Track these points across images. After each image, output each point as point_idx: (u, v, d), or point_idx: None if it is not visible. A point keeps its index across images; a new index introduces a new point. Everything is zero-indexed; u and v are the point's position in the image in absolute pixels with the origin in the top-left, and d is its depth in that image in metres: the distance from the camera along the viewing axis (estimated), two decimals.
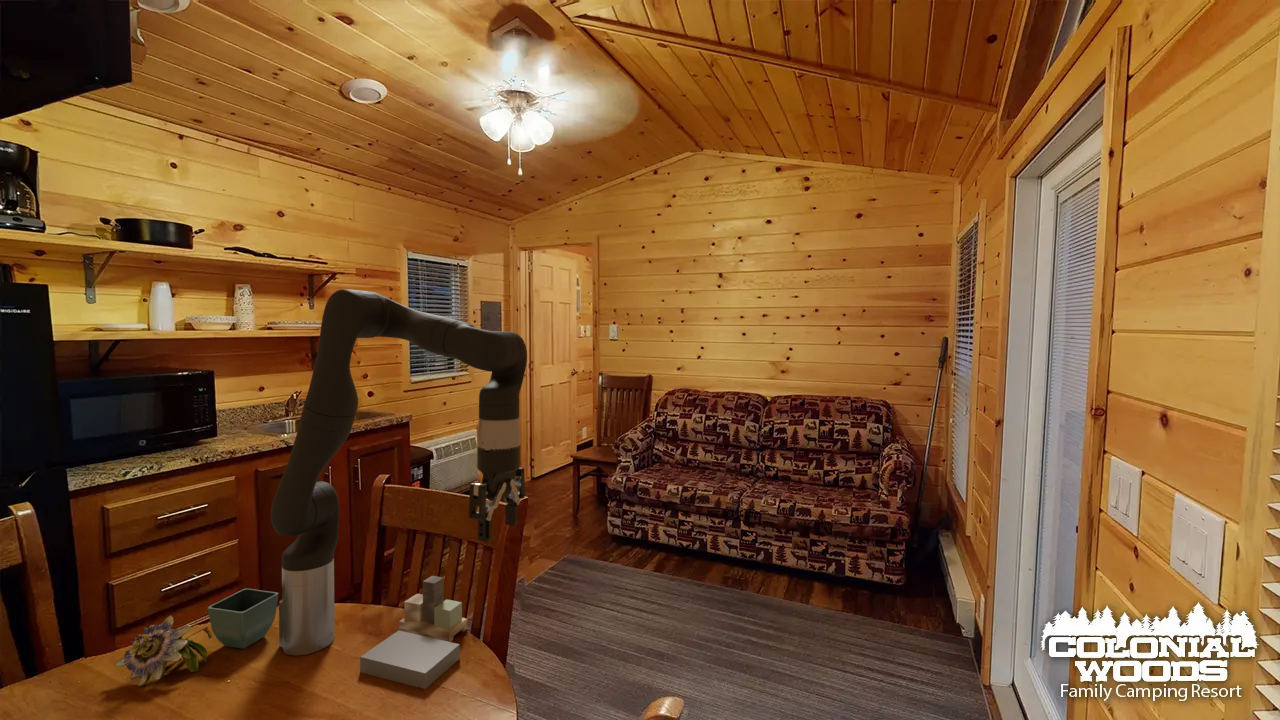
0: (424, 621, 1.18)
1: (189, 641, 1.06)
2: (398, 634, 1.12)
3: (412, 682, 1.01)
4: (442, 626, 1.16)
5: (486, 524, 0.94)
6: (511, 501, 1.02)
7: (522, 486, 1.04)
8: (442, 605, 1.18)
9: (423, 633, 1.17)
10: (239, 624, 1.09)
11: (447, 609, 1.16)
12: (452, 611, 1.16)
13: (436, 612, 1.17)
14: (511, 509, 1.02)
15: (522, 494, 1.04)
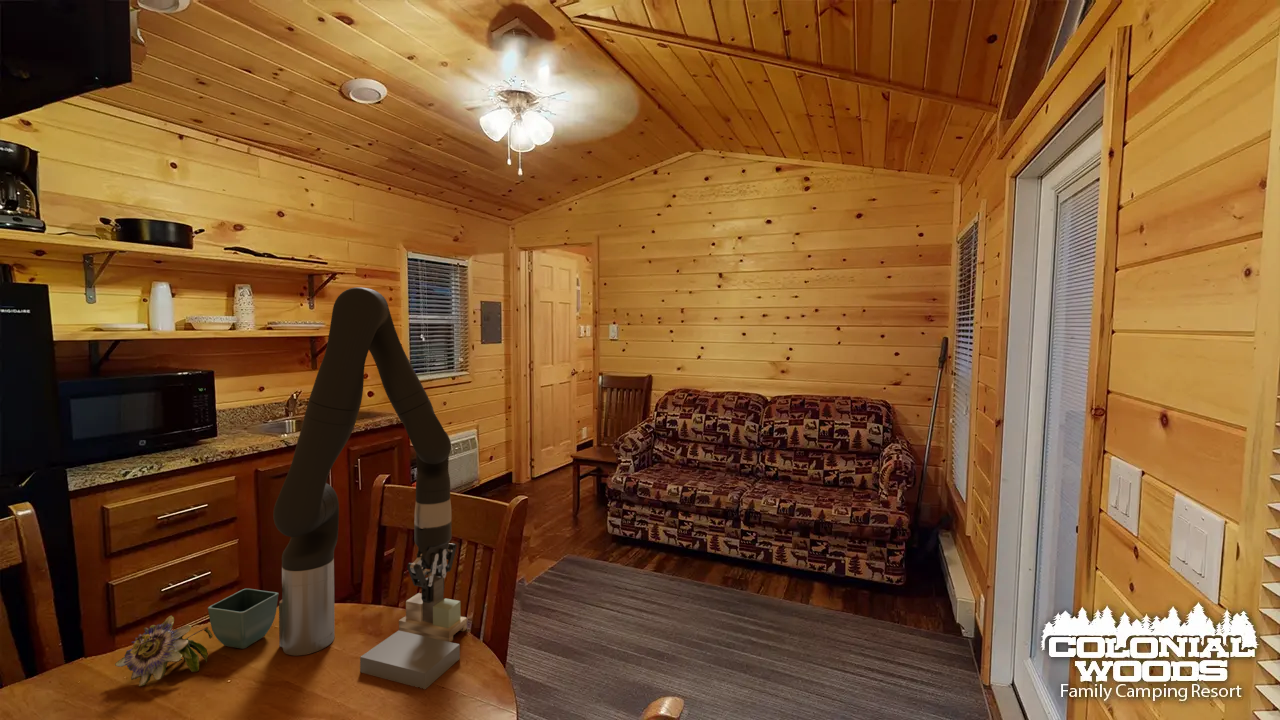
0: (424, 620, 1.19)
1: (190, 641, 1.06)
2: (398, 634, 1.12)
3: (412, 682, 1.01)
4: (441, 625, 1.17)
5: (428, 589, 1.17)
6: (438, 575, 1.21)
7: (451, 560, 1.23)
8: (441, 604, 1.18)
9: (423, 632, 1.17)
10: (239, 624, 1.09)
11: (446, 608, 1.16)
12: (451, 610, 1.17)
13: (435, 611, 1.17)
14: None
15: (449, 567, 1.22)
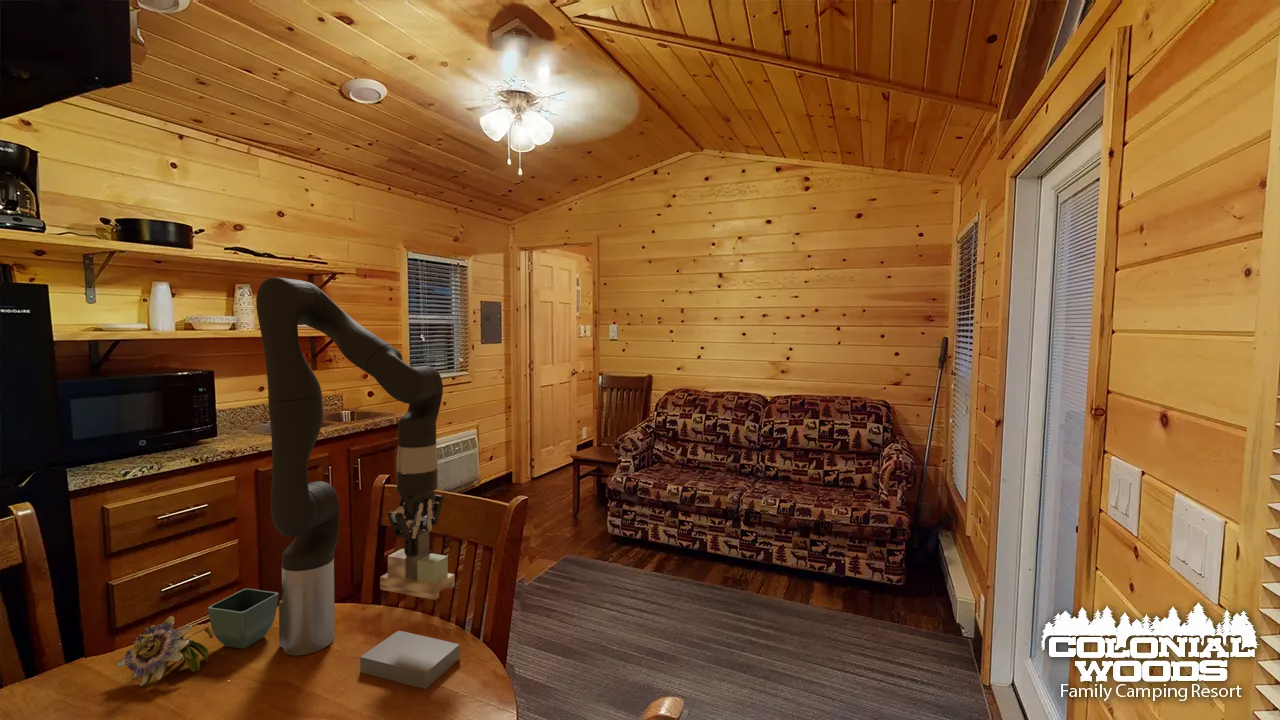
0: (408, 576, 1.08)
1: (190, 641, 1.06)
2: (398, 634, 1.12)
3: (412, 682, 1.01)
4: (426, 581, 1.06)
5: (412, 542, 1.07)
6: (423, 528, 1.11)
7: (437, 512, 1.13)
8: (426, 559, 1.08)
9: (406, 589, 1.07)
10: (239, 624, 1.09)
11: (431, 562, 1.06)
12: (437, 564, 1.07)
13: (419, 566, 1.07)
14: None
15: (435, 520, 1.12)
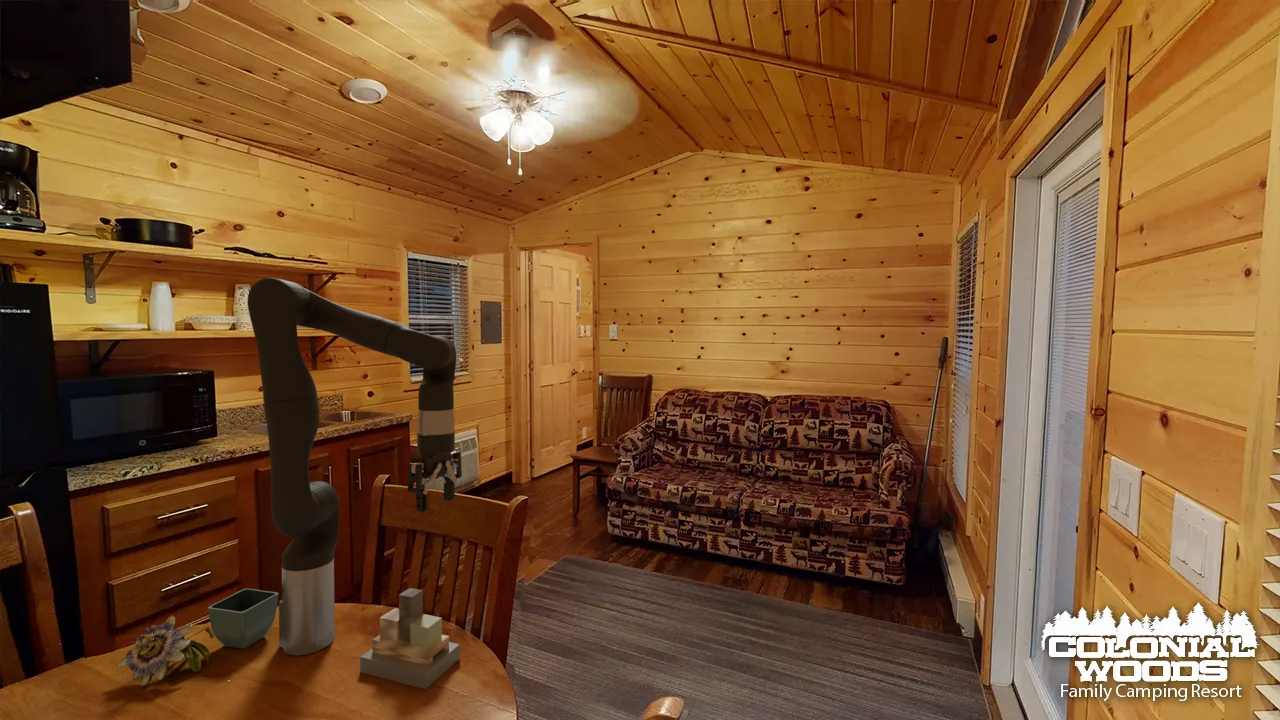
0: (401, 639, 1.06)
1: (191, 641, 1.06)
2: None
3: (412, 682, 1.01)
4: (419, 645, 1.04)
5: (423, 497, 1.12)
6: (448, 480, 1.21)
7: (459, 467, 1.22)
8: (419, 621, 1.05)
9: (399, 653, 1.04)
10: (239, 624, 1.09)
11: (425, 626, 1.04)
12: (430, 628, 1.04)
13: (412, 629, 1.04)
14: (448, 486, 1.21)
15: (459, 474, 1.22)
